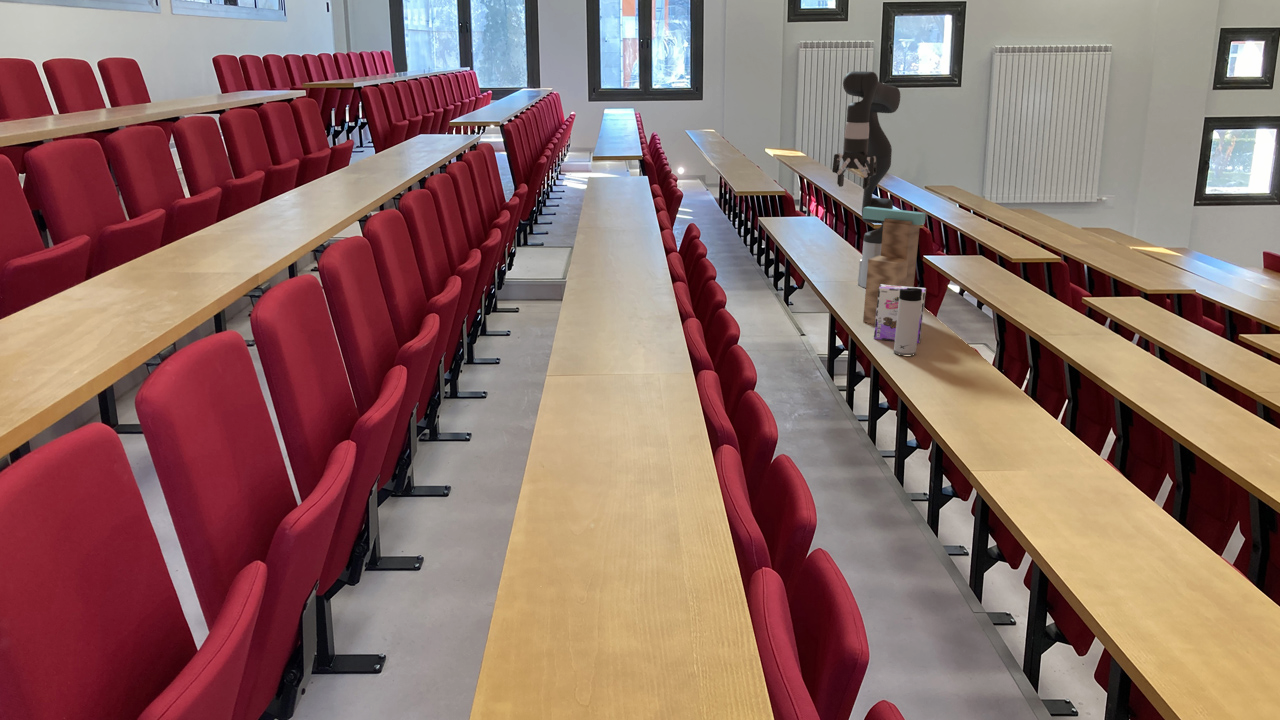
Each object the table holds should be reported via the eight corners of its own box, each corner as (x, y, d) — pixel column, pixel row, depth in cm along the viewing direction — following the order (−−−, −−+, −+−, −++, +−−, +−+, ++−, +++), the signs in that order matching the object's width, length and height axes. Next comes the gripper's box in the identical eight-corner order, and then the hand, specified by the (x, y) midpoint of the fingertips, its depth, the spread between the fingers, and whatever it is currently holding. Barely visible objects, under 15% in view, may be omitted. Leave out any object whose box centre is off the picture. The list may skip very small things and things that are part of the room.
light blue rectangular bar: (862, 218, 302) (863, 207, 301) (867, 216, 304) (868, 206, 303) (920, 225, 290) (921, 214, 289) (924, 223, 292) (925, 212, 291)
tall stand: (875, 317, 305) (883, 219, 295) (885, 312, 311) (894, 215, 301) (900, 322, 300) (910, 222, 289) (910, 317, 306) (920, 218, 295)
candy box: (873, 339, 281) (877, 287, 276) (875, 334, 287) (879, 283, 282) (919, 344, 277) (925, 291, 272) (921, 338, 282) (926, 287, 277)
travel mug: (903, 358, 264) (910, 291, 257) (889, 351, 270) (895, 286, 263) (921, 355, 266) (928, 289, 260) (906, 349, 272) (912, 284, 266)
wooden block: (863, 322, 300) (868, 259, 293) (873, 317, 305) (879, 255, 299) (891, 327, 294) (897, 263, 287) (902, 322, 300) (908, 259, 293)
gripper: (882, 137, 290) (878, 188, 296) (841, 134, 299) (837, 184, 304) (872, 139, 285) (868, 191, 290) (831, 136, 293) (827, 187, 298)
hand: (852, 187), depth 297 cm, fingers open, 8 cm apart
